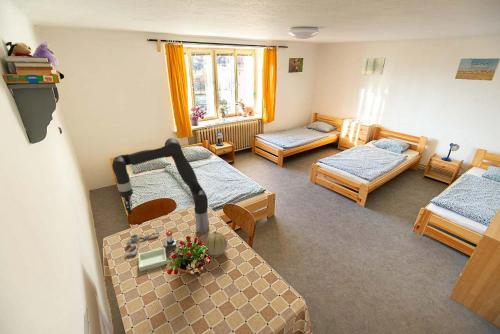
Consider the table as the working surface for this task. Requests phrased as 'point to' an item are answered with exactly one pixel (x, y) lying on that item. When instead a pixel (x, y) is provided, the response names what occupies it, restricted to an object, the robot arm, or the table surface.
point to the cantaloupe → (216, 243)
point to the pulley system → (136, 238)
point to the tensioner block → (170, 244)
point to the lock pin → (169, 237)
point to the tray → (152, 259)
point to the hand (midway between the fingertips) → (130, 209)
